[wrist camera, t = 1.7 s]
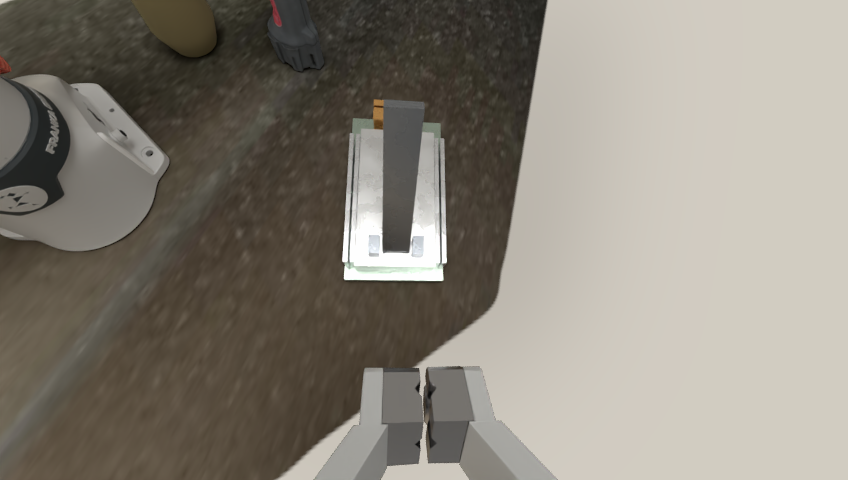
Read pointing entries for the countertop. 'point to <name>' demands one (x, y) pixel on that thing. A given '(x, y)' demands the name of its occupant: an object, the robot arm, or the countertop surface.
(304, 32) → the flashlight
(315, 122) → the countertop surface
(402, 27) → the countertop surface
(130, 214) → the robot arm
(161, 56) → the countertop surface
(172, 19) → the squeeze bottle
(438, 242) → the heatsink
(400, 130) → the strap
